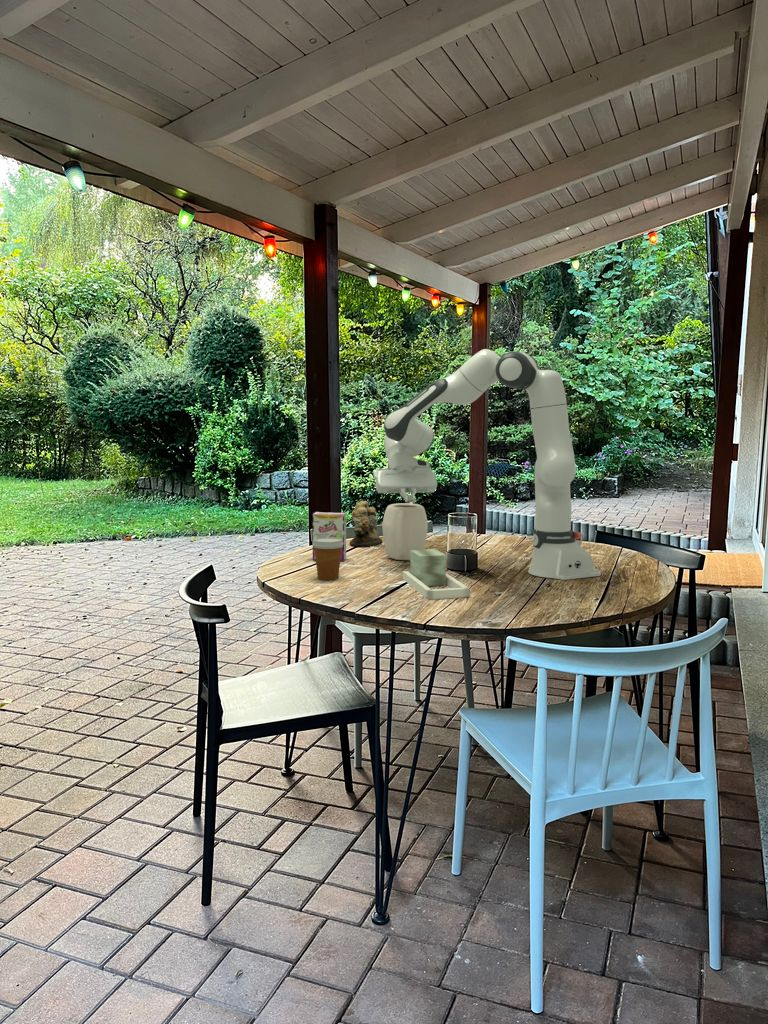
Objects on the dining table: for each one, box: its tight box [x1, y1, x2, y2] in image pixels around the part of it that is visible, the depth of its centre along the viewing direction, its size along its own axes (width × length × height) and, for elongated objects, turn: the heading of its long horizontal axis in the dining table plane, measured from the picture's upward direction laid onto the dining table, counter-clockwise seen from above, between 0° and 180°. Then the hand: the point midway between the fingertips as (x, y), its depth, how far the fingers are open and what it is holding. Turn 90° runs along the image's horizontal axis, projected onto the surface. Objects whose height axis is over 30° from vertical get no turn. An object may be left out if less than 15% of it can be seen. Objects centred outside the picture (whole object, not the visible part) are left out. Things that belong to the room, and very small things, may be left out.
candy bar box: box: [312, 511, 347, 562], centre depth 248 cm, size 11×5×16 cm, turn 84°
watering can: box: [381, 502, 429, 561], centre depth 253 cm, size 16×27×19 cm, turn 169°
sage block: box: [409, 548, 447, 587], centre depth 215 cm, size 8×10×9 cm
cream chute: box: [402, 570, 471, 600], centre depth 209 cm, size 12×26×2 cm, turn 14°
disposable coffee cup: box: [312, 537, 344, 581], centre depth 221 cm, size 10×10×12 cm
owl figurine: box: [349, 500, 383, 548], centre depth 279 cm, size 18×12×17 cm, turn 162°
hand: (410, 501), depth 232 cm, fingers closed
